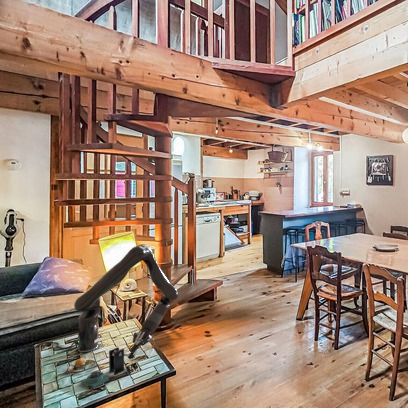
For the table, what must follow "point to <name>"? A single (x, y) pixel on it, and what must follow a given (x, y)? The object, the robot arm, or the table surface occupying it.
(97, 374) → the button
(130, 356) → the lever
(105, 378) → the button box
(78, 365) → the burger
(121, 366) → the bracket
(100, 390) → the table surface
